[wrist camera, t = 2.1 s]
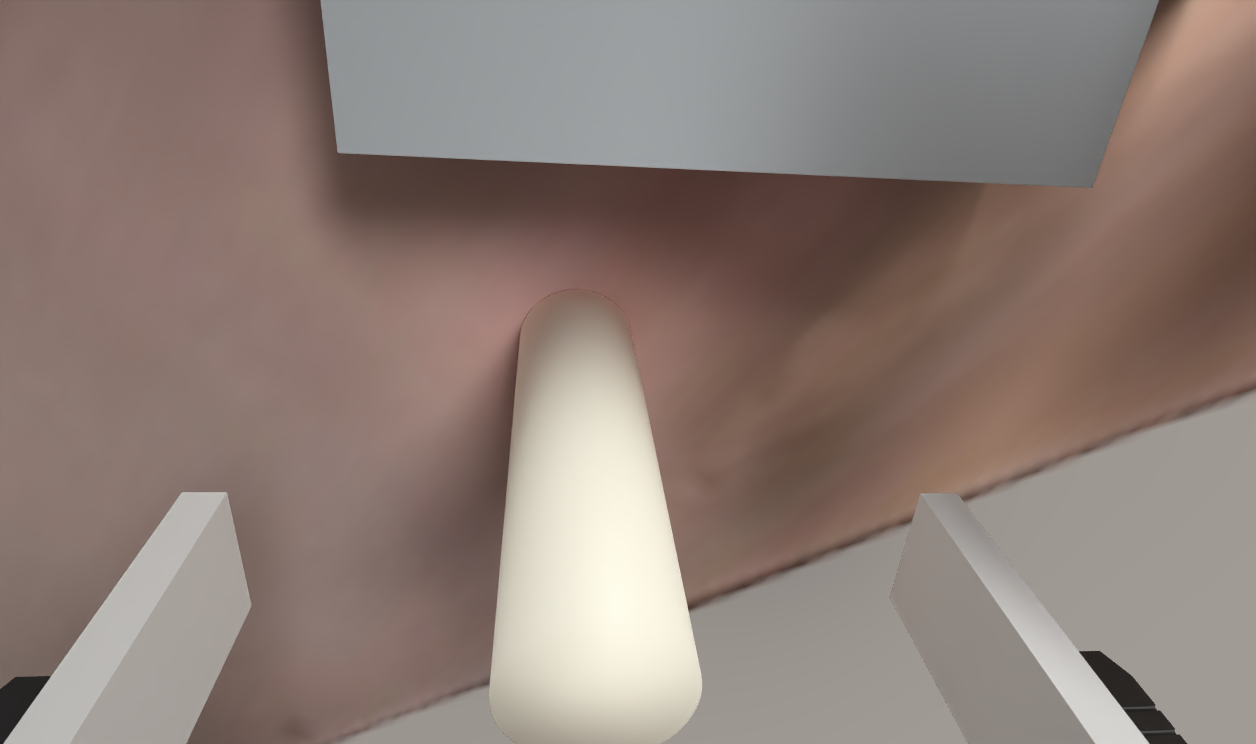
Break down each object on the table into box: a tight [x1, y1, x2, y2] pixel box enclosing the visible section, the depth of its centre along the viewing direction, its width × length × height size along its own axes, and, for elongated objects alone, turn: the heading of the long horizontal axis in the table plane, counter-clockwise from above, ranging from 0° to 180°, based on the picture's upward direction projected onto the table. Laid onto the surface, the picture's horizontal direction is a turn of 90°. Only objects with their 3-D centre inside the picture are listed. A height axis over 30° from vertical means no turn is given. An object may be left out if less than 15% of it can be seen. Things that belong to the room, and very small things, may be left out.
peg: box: [489, 289, 702, 744], centre depth 17 cm, size 3×3×12 cm
